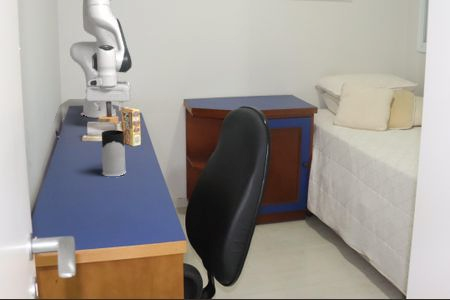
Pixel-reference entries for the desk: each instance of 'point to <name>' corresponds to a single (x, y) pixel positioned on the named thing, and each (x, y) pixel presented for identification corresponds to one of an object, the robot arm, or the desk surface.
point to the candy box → (131, 126)
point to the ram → (110, 114)
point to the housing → (104, 120)
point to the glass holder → (113, 153)
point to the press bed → (99, 130)
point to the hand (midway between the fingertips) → (108, 110)
